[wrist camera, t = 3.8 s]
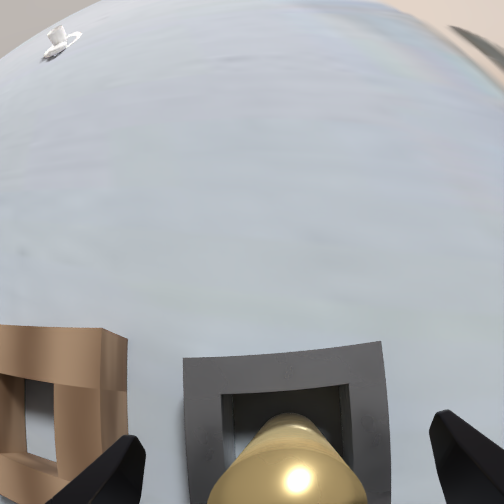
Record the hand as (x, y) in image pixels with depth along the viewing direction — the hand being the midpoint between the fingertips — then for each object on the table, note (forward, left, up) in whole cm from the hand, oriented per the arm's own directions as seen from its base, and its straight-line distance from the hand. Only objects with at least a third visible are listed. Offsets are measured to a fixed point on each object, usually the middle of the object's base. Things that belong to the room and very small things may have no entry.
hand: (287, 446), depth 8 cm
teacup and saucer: (-35, +52, -9) cm, 63 cm away
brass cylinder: (0, -1, -8) cm, 8 cm away
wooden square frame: (-15, -1, -8) cm, 17 cm away
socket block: (0, -1, -8) cm, 8 cm away
